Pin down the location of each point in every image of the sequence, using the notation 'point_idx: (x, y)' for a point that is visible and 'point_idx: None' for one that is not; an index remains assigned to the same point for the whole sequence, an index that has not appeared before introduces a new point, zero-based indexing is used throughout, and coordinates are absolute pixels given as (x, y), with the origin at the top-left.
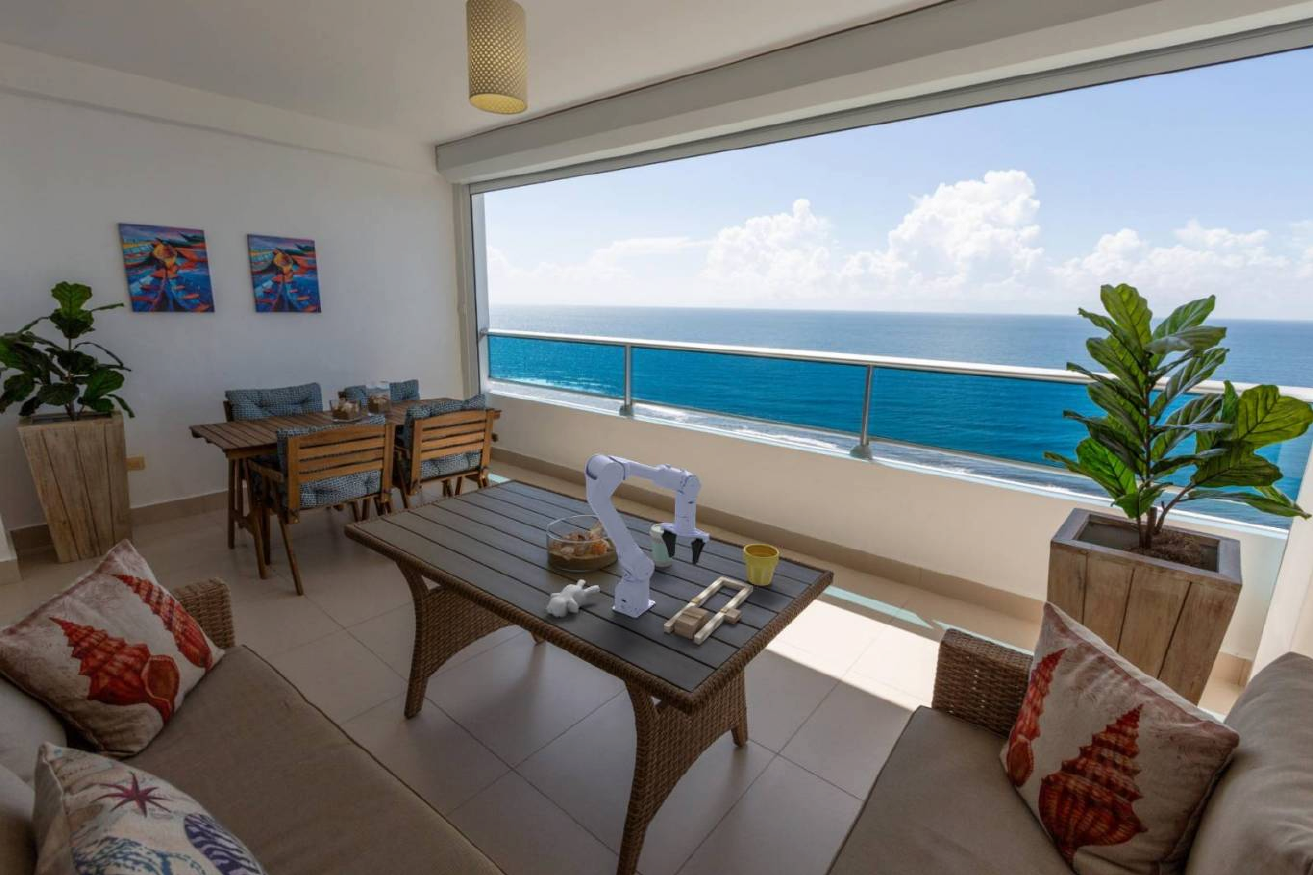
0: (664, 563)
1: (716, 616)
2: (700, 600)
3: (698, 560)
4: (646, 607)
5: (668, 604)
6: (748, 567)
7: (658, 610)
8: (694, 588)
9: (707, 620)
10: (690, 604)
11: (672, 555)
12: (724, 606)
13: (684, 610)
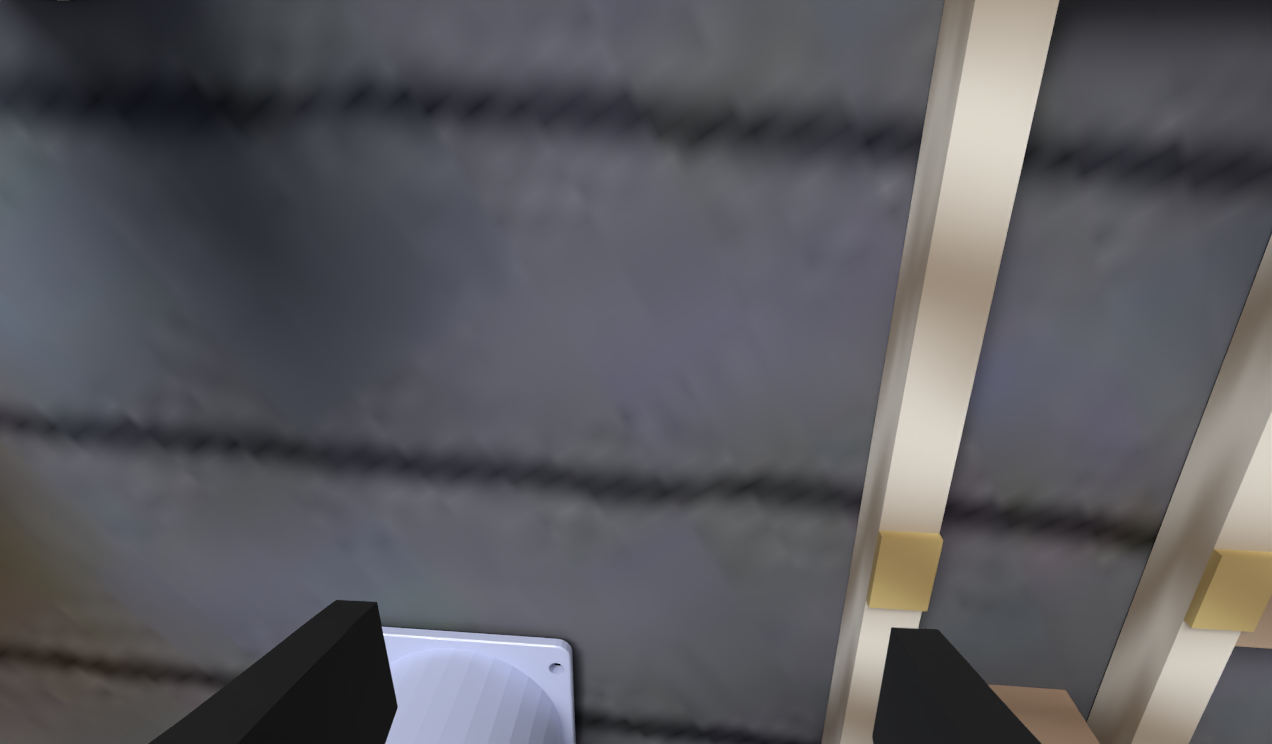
0: None
1: (1168, 698)
2: (934, 533)
3: (964, 661)
4: (561, 734)
5: (660, 599)
6: None
7: (642, 691)
8: (726, 240)
9: (1086, 730)
10: (879, 642)
11: (374, 682)
12: (1227, 557)
13: (869, 728)
